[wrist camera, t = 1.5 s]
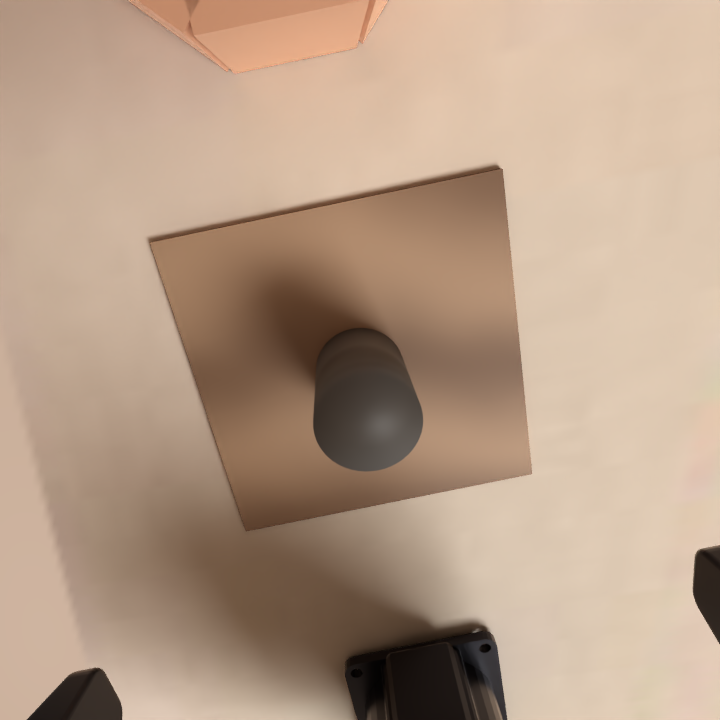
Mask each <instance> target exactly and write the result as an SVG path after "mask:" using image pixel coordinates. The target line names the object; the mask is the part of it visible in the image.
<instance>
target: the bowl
mask: <svg viewBox="0 0 720 720" xmlns="http://www.w3.org/2000/svg"><path fill="white" fill-rule="evenodd" d="M127 1H129V2H130V3H132V4H133V5H134V6H136V7H137V8H139V9H140V10H141V11H143V12H144V13H146V14H147V15H148V16H150V17H151V18H153V19H154V20H155V21H157V22H158V23H160V24H161V25H162V26H164V27H165V28H166V29H168V30H169V31H171V32H172V33H173V34H175V35H176V36H178V37H179V38H180V39H182V40H183V41H185V42H186V43H187V44H189V45H190V46H192V47H193V48H194V49H196V50H197V51H199V52H200V53H201V54H203V55H204V56H206V57H207V58H208V59H210V60H211V61H213V62H214V63H215V64H217V65H218V66H220V67H221V68H222V69H224V70H225V71H226V72H228V70H229V69H230V70H231V71H232V72H233V73H234V74H236V73H241V72H246V71H251V70H255V69H260V68H265V67H270V66H274V65H279V64H284V63H289V62H293V61H298V60H303V59H307V58H312V57H317V56H322V55H326V54H331V53H336V52H341V51H345V50H350V49H355V48H357V44H358V41H360V42H361V43H363V42H364V41H365V39H366V37H367V35H368V34H369V32H370V30H371V29H372V27H373V25H374V24H375V22H376V20H377V19H378V17H379V15H380V14H381V12H382V10H383V9H384V7H385V5H386V4H387V2H388V0H127Z"/></svg>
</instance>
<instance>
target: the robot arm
mask: <svg viewBox="0 0 720 720" xmlns="http://www.w3.org/2000/svg"><path fill="white" fill-rule="evenodd" d="M693 595H694V599H695V602H696V604H697V606H698V608H699V610H700V612H701V613H702V615H703V617H704V618H705V620H706V622H707V624H708V625H709V627H710V629H711V630H712V632H713V634H714V635H715V637H716V639H717V641H718V642H719V644H720V545H718V546H713V547H708V548H703V549H700V550H698V551H697V553H696V554H695V561H694V577H693ZM483 644H484V645H483ZM345 677H346V681H347V684H348V688H349V691H350V695H351V698H352V702H353V705H354V709H355V712H356V716H357V720H507V715H506V708H505V700H504V693H503V686H502V679H501V672H500V664H499V657H498V650H497V645H496V642H495V639H494V636H493V635H492V634H491V633H490V632H486V631H484V632H477V633H472V634H466V635H461V636H456V637H451V638H446V639H441V640H436V641H431V642H426V643H420V644H415V645H410V646H405V647H400V648H395V649H390V650H385V651H379V652H374V653H369V654H364V655H359V656H354V657H351V658H349V659H348V660H347V661H346V662H345ZM27 720H122V706H121V702H120V700H119V698H118V696H117V694H116V692H115V691H114V689H113V687H112V685H111V683H110V681H109V679H108V678H107V676H106V674H105V672H104V671H103V670H102V669H100V668H92V669H87V670H81V671H77V672H74V673H72V674H70V675H69V676H68V677H67V678H66V679H65V680H64V681H63V682H62V683H61V684H60V685H59V686H58V687H57V688H56V689H55V690H54V692H52V693H51V695H50V696H49V697H48V698H47V699H46V700H45V701H44V702H43V703H42V704H41V705H40V706H39V707H38V708H37V709H36V710H35V712H34V713H33V714H32V715H31V716H30V717H29V718H28V719H27Z"/></svg>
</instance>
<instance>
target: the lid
mask: <svg viewBox="0 0 720 720" xmlns="http://www.w3.org/2000/svg"><path fill="white" fill-rule="evenodd" d="M150 245H151V248H152V251H153V254H154V257H155V260H156V263H157V266H158V269H159V272H160V275H161V278H162V281H163V284H164V287H165V290H166V293H167V296H168V299H169V302H170V305H171V308H172V311H173V314H174V317H175V320H176V323H177V326H178V329H179V332H180V335H181V338H182V341H183V344H184V347H185V350H186V353H187V356H188V359H189V362H190V365H191V368H192V371H193V374H194V377H195V380H196V383H197V386H198V389H199V392H200V395H201V398H202V401H203V404H204V407H205V410H206V413H207V416H208V419H209V422H210V425H211V428H212V431H213V434H214V437H215V440H216V443H217V446H218V449H219V452H220V455H221V458H222V461H223V464H224V467H225V470H226V473H227V476H228V479H229V482H230V485H231V488H232V491H233V494H234V497H235V500H236V503H237V506H238V509H239V512H240V515H241V518H242V521H243V524H244V527H245V530H246V531H250V530H255V529H260V528H265V527H270V526H275V525H280V524H285V523H290V522H295V521H300V520H305V519H310V518H315V517H320V516H325V515H330V514H335V513H340V512H345V511H350V510H355V509H360V508H365V507H370V506H375V505H380V504H385V503H390V502H395V501H400V500H405V499H410V498H415V497H420V496H425V495H430V494H435V493H440V492H444V491H449V490H454V489H459V488H464V487H469V486H474V485H479V484H484V483H489V482H494V481H499V480H504V479H509V478H514V477H519V476H524V475H529V474H532V468H531V457H530V447H529V437H528V426H527V416H526V406H525V395H524V385H523V375H522V364H521V354H520V344H519V333H518V323H517V313H516V302H515V292H514V282H513V271H512V261H511V251H510V240H509V230H508V220H507V209H506V199H505V189H504V178H503V169H497V170H492V171H487V172H483V173H478V174H473V175H468V176H463V177H459V178H454V179H449V180H444V181H440V182H435V183H430V184H425V185H421V186H416V187H411V188H406V189H402V190H397V191H392V192H387V193H383V194H378V195H373V196H368V197H364V198H359V199H354V200H349V201H345V202H340V203H335V204H330V205H325V206H321V207H316V208H311V209H306V210H302V211H297V212H292V213H287V214H283V215H278V216H273V217H268V218H264V219H259V220H254V221H249V222H245V223H240V224H235V225H230V226H226V227H221V228H216V229H211V230H207V231H202V232H197V233H192V234H187V235H183V236H178V237H173V238H168V239H164V240H159V241H154V242H151V243H150Z"/></svg>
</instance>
